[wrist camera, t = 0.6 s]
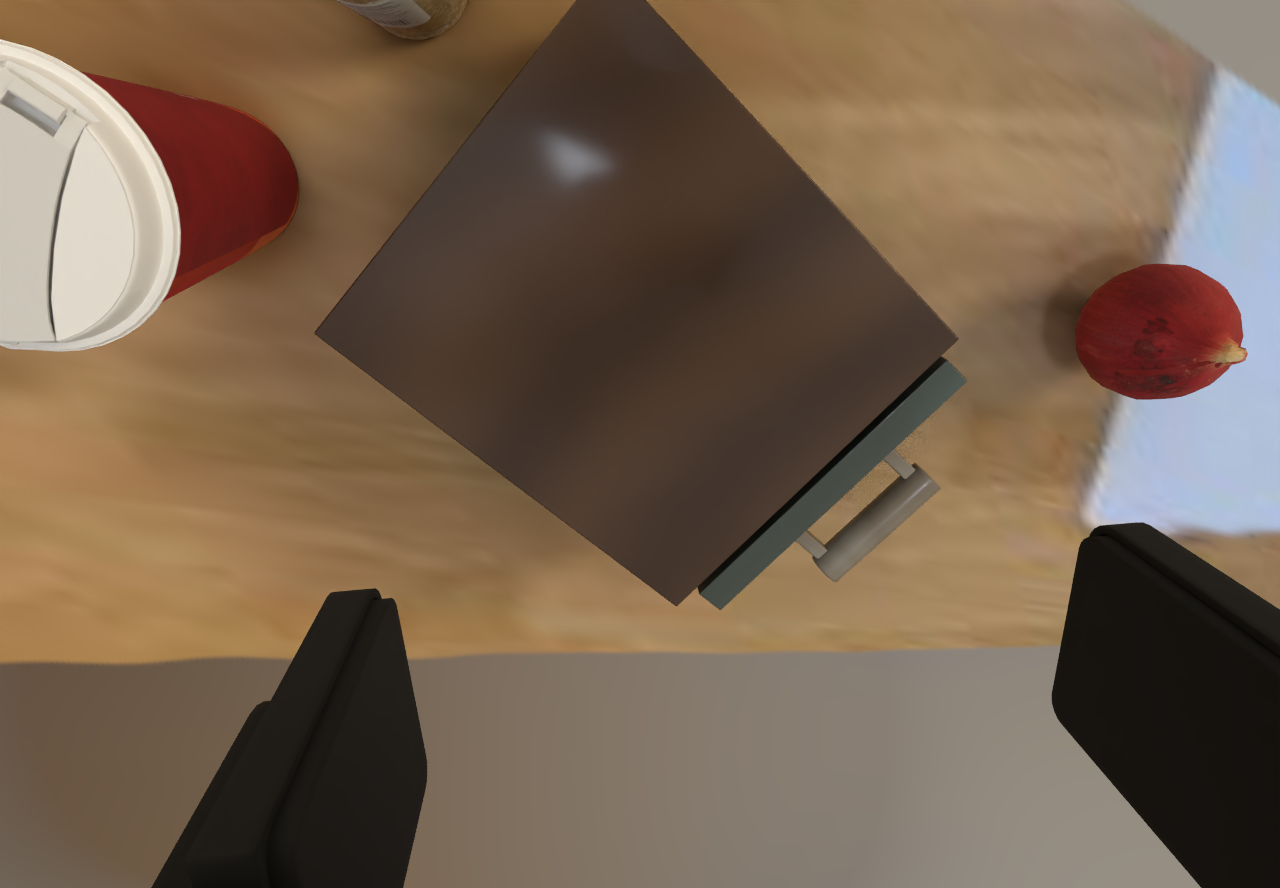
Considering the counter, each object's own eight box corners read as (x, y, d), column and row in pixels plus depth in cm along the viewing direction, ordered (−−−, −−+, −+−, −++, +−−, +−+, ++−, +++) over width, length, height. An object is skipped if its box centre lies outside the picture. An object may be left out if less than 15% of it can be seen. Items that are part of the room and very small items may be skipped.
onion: (1078, 395, 38) (1200, 458, 30) (1018, 313, 36) (1132, 359, 29) (1179, 314, 37) (1331, 360, 29) (1122, 226, 35) (1270, 250, 27)
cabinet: (855, 283, 35) (960, 338, 25) (651, 489, 38) (676, 607, 28) (597, 15, 30) (608, -41, 20) (388, 276, 33) (313, 333, 24)
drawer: (943, 391, 36) (1043, 461, 28) (755, 566, 39) (800, 672, 31) (648, 87, 30) (674, 70, 22) (452, 319, 33) (415, 375, 25)
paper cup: (180, 31, 29) (-136, -53, 16) (360, 159, 31) (209, 176, 18) (95, 201, 31) (-247, 249, 18) (270, 311, 33) (77, 423, 20)
